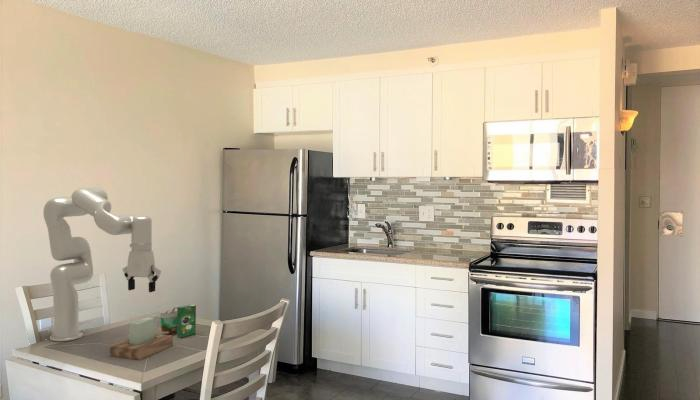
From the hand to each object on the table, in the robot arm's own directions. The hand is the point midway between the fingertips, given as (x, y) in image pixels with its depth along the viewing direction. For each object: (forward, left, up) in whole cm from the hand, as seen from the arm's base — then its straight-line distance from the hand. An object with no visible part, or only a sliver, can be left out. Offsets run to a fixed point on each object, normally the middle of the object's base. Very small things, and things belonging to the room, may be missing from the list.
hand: (141, 290), depth 224 cm
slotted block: (0, 0, -24) cm, 24 cm away
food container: (-4, +26, -24) cm, 36 cm away
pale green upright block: (0, 0, -24) cm, 24 cm away
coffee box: (+4, +24, -24) cm, 34 cm away
